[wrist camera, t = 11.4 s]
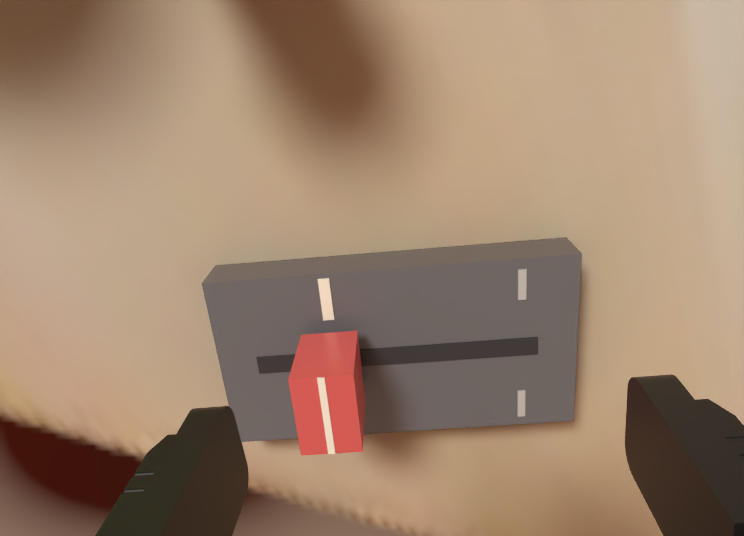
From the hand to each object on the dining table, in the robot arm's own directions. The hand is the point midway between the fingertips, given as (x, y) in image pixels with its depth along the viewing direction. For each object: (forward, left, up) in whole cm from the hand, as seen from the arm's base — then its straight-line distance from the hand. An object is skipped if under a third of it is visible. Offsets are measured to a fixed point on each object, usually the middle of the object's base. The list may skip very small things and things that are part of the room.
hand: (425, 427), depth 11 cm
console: (+1, +11, -25) cm, 27 cm away
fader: (+5, +11, -22) cm, 25 cm away
